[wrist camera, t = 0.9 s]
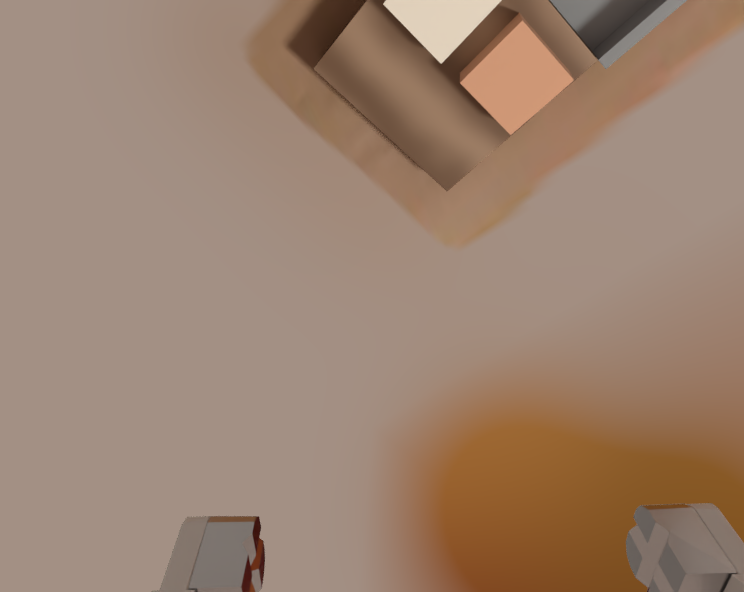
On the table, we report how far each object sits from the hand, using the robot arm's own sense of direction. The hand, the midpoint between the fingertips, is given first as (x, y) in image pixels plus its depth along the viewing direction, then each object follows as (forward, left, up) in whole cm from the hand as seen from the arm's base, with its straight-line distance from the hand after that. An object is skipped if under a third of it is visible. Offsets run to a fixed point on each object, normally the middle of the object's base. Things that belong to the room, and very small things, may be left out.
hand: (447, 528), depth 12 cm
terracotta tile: (-4, +3, -40) cm, 40 cm away
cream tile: (0, -4, -40) cm, 40 cm away
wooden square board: (+1, +1, -43) cm, 43 cm away
